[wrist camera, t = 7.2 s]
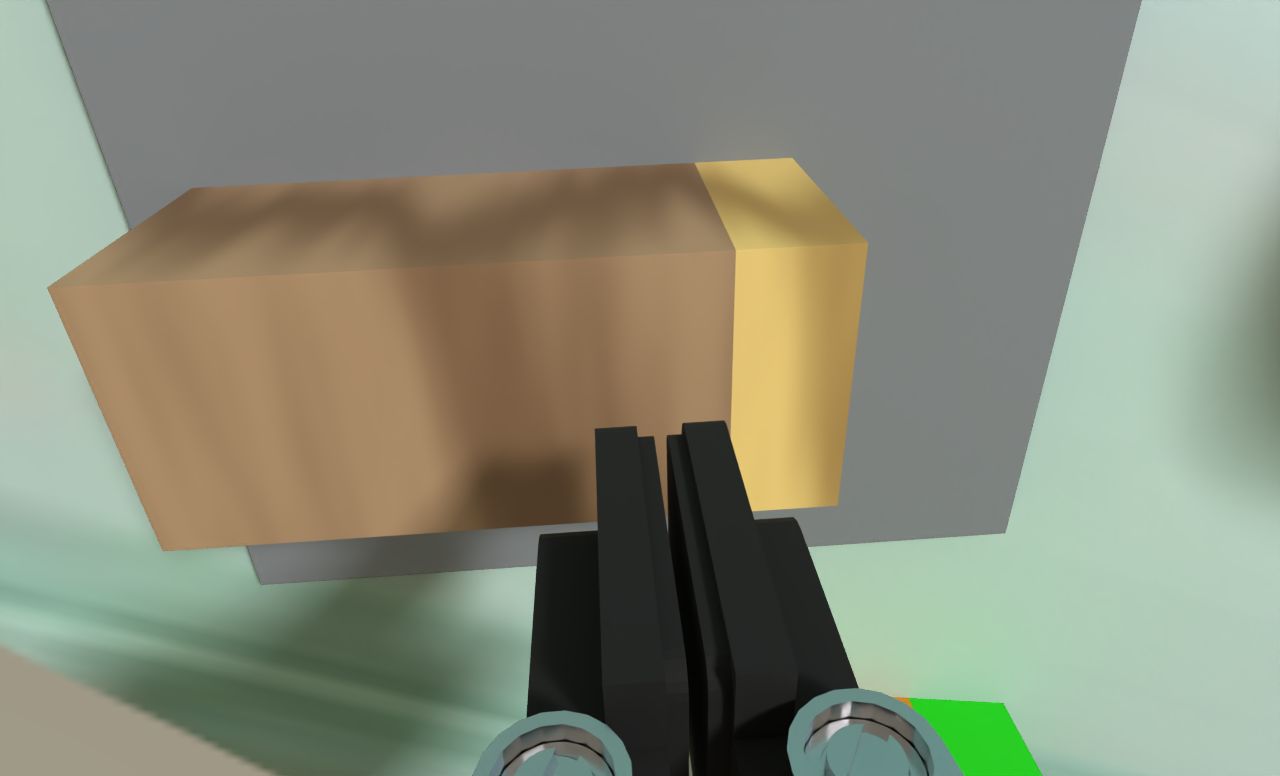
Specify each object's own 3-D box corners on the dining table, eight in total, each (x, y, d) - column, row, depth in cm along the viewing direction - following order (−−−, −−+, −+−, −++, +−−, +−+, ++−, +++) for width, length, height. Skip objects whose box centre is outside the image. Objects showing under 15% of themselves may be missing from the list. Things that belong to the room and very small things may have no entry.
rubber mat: (1166, -179, 14) (1188, -183, 14) (995, 518, 22) (1004, 533, 22) (16, -140, 14) (-6, -142, 13) (268, 569, 22) (261, 584, 21)
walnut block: (867, 242, 12) (47, 287, 12) (837, 505, 15) (162, 551, 14) (792, 157, 16) (191, 188, 16) (779, 371, 19) (260, 403, 18)
